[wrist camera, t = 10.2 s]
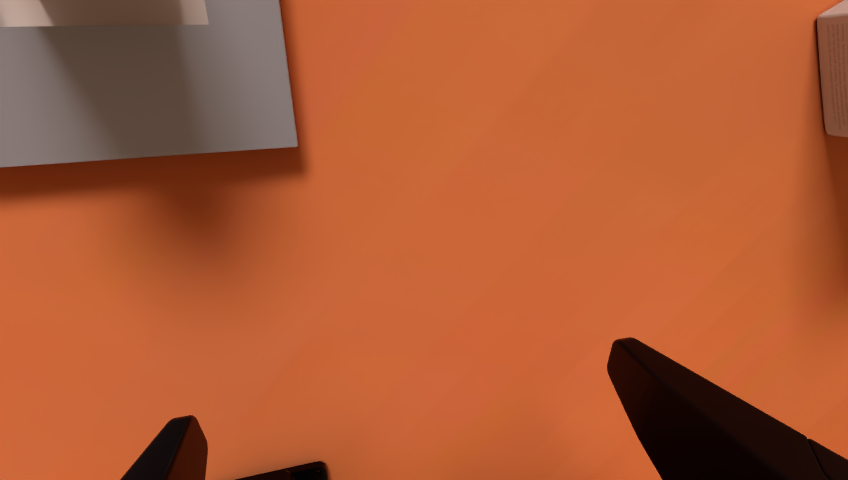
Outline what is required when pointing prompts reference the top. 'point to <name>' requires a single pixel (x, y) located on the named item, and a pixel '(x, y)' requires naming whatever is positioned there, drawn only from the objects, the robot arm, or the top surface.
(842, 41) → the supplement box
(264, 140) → the socket
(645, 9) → the top surface
